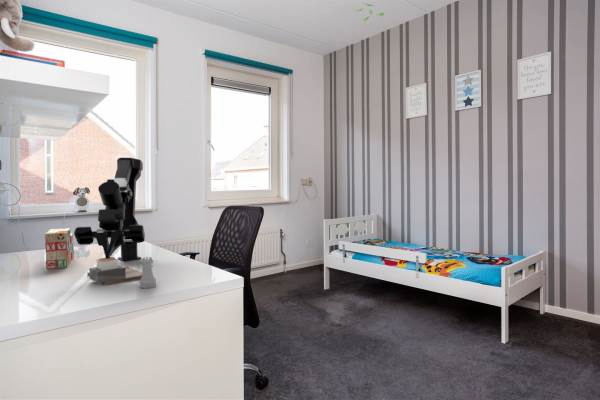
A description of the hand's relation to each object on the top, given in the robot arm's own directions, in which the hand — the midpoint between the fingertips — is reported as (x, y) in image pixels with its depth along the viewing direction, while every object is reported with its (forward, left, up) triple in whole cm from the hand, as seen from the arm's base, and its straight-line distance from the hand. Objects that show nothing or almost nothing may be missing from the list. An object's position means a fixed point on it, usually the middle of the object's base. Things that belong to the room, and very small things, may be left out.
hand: (107, 257), depth 111 cm
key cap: (0, 0, -5) cm, 5 cm away
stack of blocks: (-41, -2, -7) cm, 42 cm away
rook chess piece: (+13, +6, -7) cm, 16 cm away
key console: (-4, +3, -7) cm, 9 cm away
